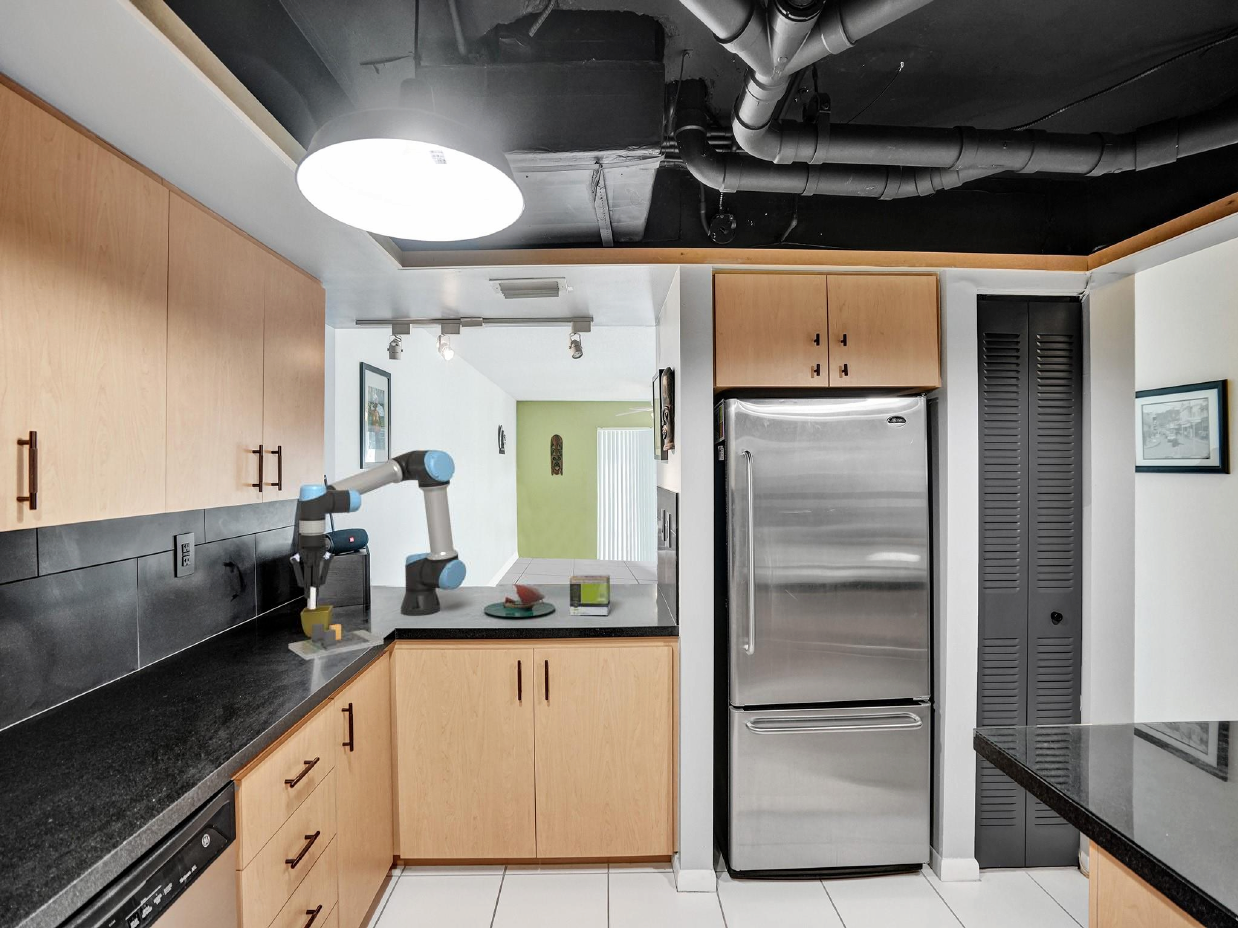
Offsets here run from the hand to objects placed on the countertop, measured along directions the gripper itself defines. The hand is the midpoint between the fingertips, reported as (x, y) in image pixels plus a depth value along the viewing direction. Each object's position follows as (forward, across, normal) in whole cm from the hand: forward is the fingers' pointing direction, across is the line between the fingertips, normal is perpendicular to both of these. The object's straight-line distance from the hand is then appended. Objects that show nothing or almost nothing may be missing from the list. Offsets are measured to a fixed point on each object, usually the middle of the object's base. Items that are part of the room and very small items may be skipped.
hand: (311, 608), depth 199 cm
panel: (+14, -8, 0) cm, 16 cm away
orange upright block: (+12, -7, 0) cm, 14 cm away
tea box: (+13, -97, +24) cm, 101 cm away
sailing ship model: (+13, -78, +3) cm, 79 cm away
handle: (+12, -4, +5) cm, 13 cm away
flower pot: (+14, -8, -18) cm, 24 cm away
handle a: (+12, -4, -5) cm, 13 cm away
